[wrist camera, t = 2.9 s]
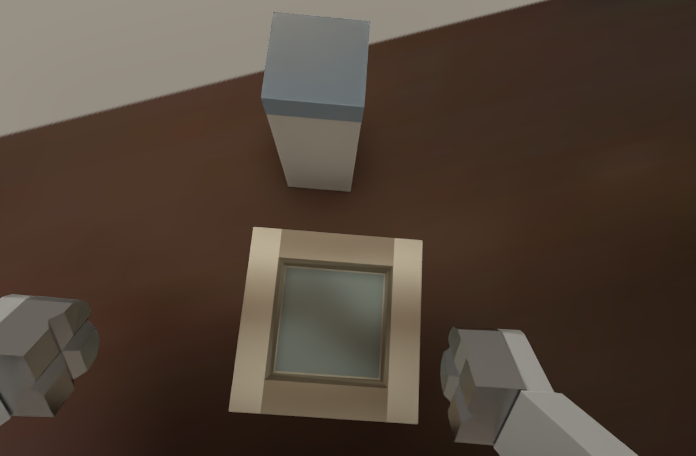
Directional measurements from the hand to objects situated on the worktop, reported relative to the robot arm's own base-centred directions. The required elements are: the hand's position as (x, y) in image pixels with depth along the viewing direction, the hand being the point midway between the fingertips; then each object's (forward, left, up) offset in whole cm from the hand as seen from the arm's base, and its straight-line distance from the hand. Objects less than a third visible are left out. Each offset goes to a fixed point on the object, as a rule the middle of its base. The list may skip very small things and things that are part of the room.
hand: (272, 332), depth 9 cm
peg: (+6, -9, -14) cm, 18 cm away
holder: (-1, -1, -14) cm, 14 cm away
